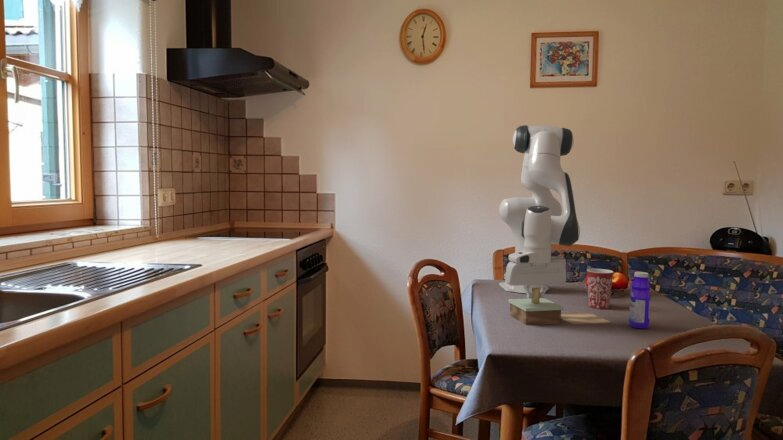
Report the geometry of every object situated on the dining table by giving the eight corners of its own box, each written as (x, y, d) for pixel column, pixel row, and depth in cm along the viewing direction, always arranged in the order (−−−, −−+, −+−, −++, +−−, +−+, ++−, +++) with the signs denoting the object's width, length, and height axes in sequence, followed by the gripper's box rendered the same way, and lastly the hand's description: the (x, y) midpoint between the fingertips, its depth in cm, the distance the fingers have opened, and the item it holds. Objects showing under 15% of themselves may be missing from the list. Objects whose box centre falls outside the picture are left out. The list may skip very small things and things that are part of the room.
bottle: (626, 323, 181) (628, 270, 180) (644, 324, 180) (647, 271, 179) (632, 329, 174) (635, 274, 173) (651, 330, 173) (654, 274, 172)
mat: (550, 315, 190) (550, 313, 190) (587, 313, 193) (587, 312, 193) (572, 326, 177) (572, 324, 176) (611, 324, 180) (611, 322, 179)
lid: (508, 302, 187) (508, 284, 186) (543, 300, 190) (544, 283, 189) (525, 311, 174) (526, 292, 174) (563, 309, 177) (564, 291, 177)
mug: (610, 311, 198) (612, 273, 197) (584, 308, 202) (585, 271, 201) (613, 304, 209) (615, 268, 208) (588, 301, 213) (589, 266, 212)
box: (509, 317, 187) (510, 302, 187) (542, 315, 190) (543, 301, 189) (525, 326, 175) (526, 310, 175) (560, 324, 178) (561, 309, 177)
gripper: (560, 254, 186) (559, 295, 187) (503, 255, 182) (502, 297, 183) (570, 257, 180) (569, 299, 181) (512, 258, 176) (510, 301, 177)
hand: (535, 298), depth 182 cm, fingers closed on lid, 3 cm apart
